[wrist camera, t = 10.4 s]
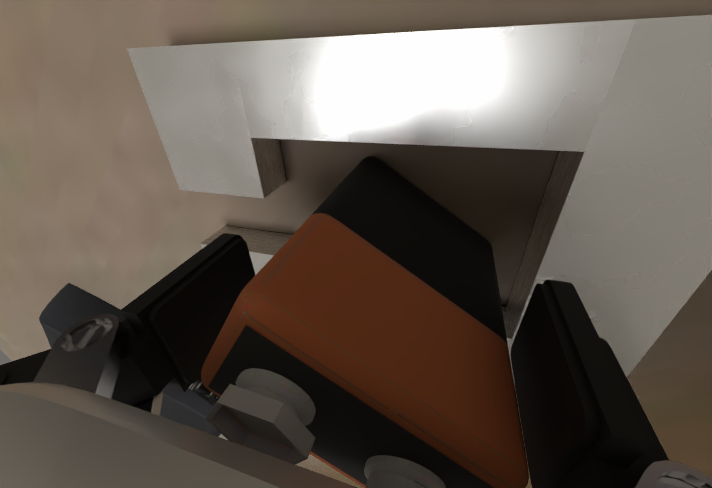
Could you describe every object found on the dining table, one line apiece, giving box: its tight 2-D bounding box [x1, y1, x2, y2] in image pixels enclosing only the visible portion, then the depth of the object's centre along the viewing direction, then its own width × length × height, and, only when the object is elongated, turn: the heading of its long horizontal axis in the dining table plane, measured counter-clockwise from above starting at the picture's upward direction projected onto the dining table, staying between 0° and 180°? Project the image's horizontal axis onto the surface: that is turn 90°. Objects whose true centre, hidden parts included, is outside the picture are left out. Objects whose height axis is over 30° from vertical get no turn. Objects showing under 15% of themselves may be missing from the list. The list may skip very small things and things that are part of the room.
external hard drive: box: [39, 283, 221, 437], centre depth 29 cm, size 13×19×4 cm
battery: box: [201, 157, 529, 488], centre depth 10 cm, size 4×7×10 cm, turn 58°
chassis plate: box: [127, 15, 712, 384], centre depth 13 cm, size 20×14×2 cm
